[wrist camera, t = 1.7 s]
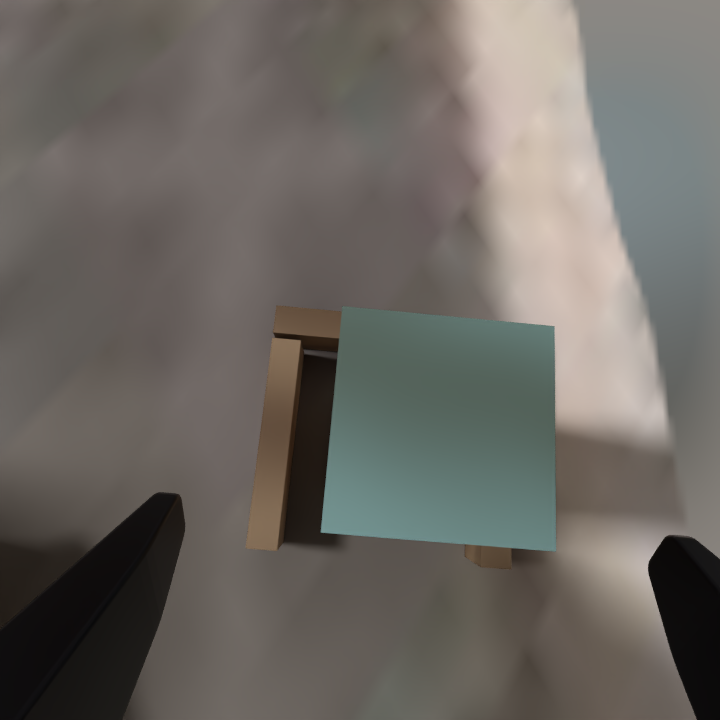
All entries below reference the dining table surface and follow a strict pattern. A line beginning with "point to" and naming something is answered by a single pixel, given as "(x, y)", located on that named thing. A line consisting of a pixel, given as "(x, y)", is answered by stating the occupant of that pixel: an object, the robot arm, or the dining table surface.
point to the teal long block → (443, 431)
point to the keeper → (279, 428)
